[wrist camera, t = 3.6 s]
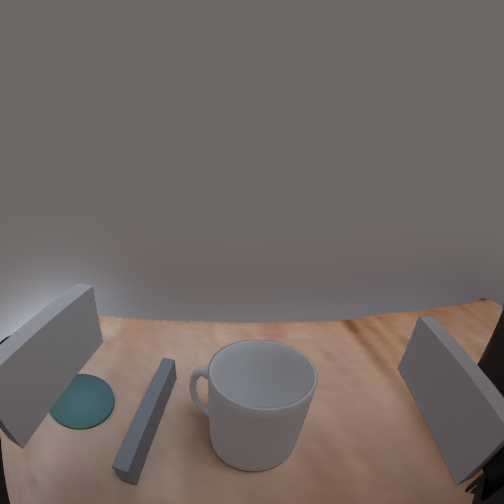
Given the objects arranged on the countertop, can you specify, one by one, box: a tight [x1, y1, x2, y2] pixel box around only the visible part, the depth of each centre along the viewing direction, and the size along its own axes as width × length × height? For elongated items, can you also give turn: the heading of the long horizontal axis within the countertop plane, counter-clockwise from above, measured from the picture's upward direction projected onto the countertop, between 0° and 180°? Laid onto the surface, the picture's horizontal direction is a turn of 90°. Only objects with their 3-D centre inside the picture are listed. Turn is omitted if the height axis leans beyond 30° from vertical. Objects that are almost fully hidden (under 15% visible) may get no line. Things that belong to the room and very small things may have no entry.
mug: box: [190, 340, 317, 471], centre depth 24 cm, size 10×12×12 cm
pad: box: [49, 374, 115, 429], centre depth 26 cm, size 10×10×1 cm
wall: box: [112, 358, 176, 485], centre depth 25 cm, size 18×2×4 cm, turn 177°
